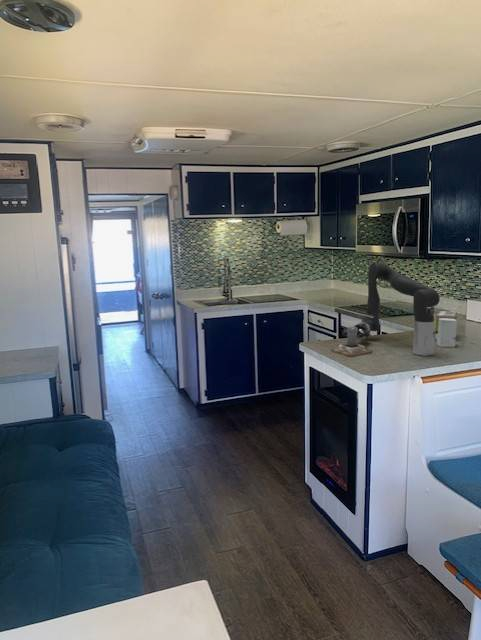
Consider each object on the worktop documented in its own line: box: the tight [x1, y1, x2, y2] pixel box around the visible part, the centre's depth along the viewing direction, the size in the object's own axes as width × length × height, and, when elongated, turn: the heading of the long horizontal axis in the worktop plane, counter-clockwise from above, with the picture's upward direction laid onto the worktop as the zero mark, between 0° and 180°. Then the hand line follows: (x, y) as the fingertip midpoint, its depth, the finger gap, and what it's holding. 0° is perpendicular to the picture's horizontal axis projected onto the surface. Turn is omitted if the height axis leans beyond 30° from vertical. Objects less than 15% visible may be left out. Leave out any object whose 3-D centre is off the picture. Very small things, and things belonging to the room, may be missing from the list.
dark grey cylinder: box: [346, 326, 358, 348], centre depth 250 cm, size 5×5×12 cm
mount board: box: [330, 343, 373, 358], centre depth 251 cm, size 15×15×4 cm
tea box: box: [435, 310, 458, 341], centre depth 277 cm, size 15×10×15 cm, turn 150°
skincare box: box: [436, 318, 458, 348], centre depth 259 cm, size 8×6×15 cm
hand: (351, 335), depth 249 cm, fingers open, 8 cm apart
